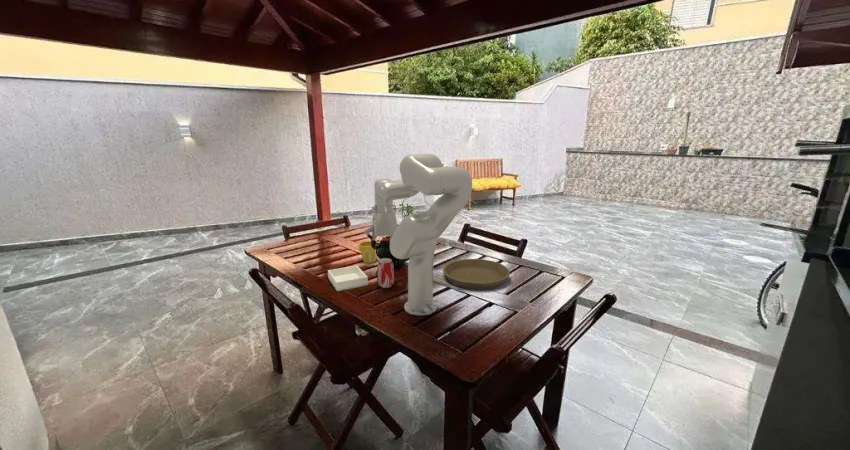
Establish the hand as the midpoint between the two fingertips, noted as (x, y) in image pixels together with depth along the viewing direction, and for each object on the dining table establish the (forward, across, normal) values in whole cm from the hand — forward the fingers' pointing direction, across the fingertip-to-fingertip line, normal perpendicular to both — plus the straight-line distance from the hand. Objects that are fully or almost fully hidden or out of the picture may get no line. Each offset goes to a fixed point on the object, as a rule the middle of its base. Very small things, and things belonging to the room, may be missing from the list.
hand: (384, 247), depth 153 cm
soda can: (+18, 0, -1) cm, 18 cm away
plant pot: (+19, +4, +33) cm, 38 cm away
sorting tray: (+18, -14, +11) cm, 25 cm away
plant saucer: (+18, +41, -12) cm, 46 cm away
